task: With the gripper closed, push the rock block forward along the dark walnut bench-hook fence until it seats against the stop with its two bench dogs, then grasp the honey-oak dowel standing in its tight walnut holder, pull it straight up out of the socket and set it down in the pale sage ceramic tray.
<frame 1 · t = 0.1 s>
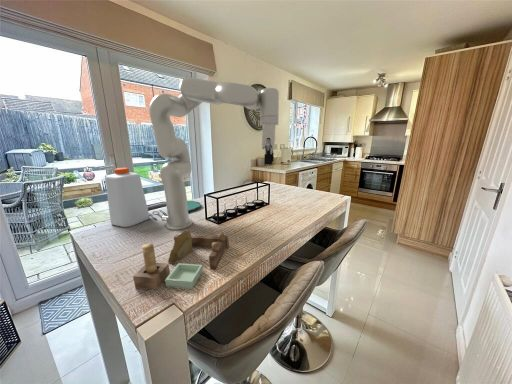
hand: (269, 162, 92), 31 cm above the table, fingers open, 9 cm apart
dowel: (150, 263, 64), in the holder
plastic bottle: (131, 221, 111), on the table
holder: (153, 280, 65), on the table
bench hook: (197, 255, 78), on the table
rock: (180, 256, 78), on the table
cutlery set: (176, 211, 127), on the table
tray: (185, 278, 66), on the table
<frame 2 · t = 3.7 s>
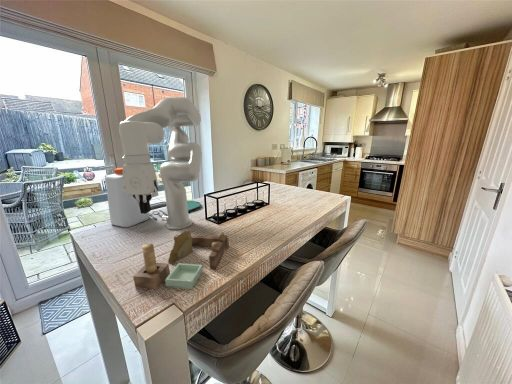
hand: (145, 212, 75), 17 cm above the table, fingers closed
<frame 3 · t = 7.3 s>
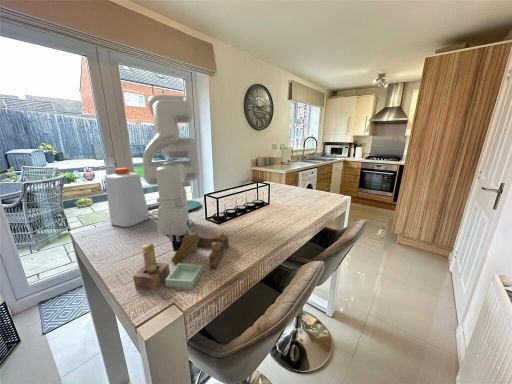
hand: (177, 249, 77), 3 cm above the table, fingers closed
rock: (183, 255, 78), on the table, touching gripper
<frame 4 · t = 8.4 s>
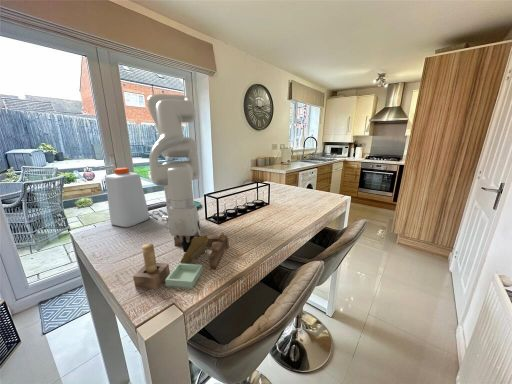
hand: (187, 250, 77), 3 cm above the table, fingers closed
rock: (192, 257, 77), on the table, touching gripper
everything else where it was.
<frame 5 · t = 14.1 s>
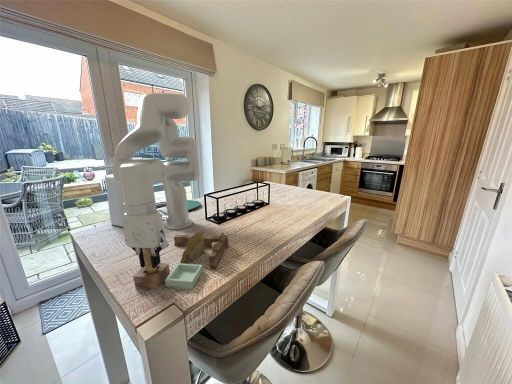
hand: (150, 264, 64), 6 cm above the table, fingers closed on dowel, 3 cm apart
dowel: (150, 263, 64), in the holder, touching gripper
rock: (193, 258, 77), on the table
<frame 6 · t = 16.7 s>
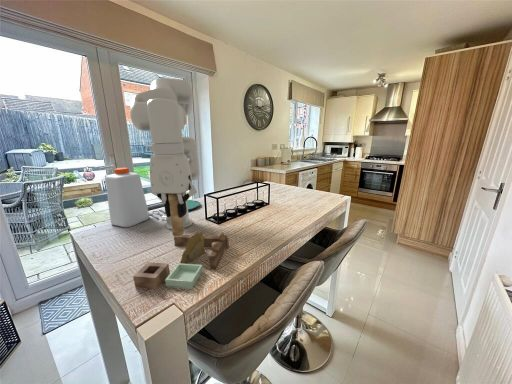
hand: (176, 215, 60), 21 cm above the table, fingers closed on dowel, 3 cm apart
dowel: (176, 214, 60), point 22 cm above the table, touching gripper
when the fingers open (7 cm above the table, at t = 19.6 s): dowel stays where it is, resting on tray.
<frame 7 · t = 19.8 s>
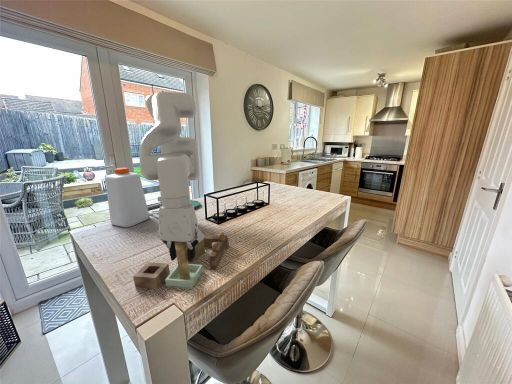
hand: (183, 257, 64), 7 cm above the table, fingers open, 4 cm apart
dowel: (182, 260, 64), in the tray, point 7 cm above the table
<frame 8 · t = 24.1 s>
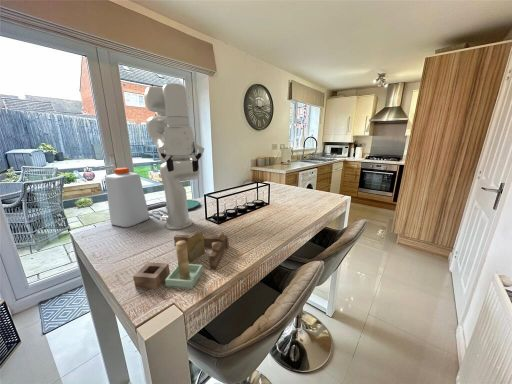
hand: (183, 171, 79), 30 cm above the table, fingers open, 9 cm apart
at the end: rock inside the target area (4.0 cm from its centre), on the table; dowel 0.3 cm off-centre on the tray, point 6.6 cm above the tray's base; the gripper is holding nothing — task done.
